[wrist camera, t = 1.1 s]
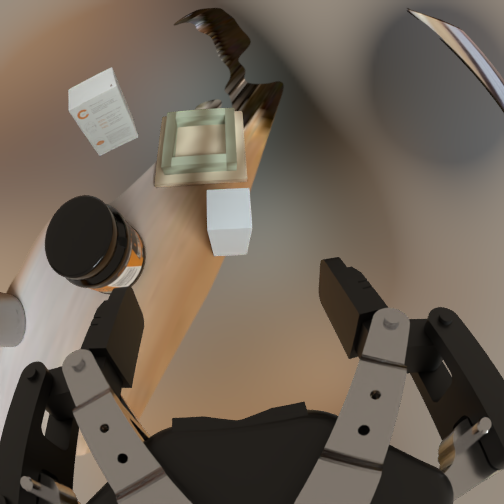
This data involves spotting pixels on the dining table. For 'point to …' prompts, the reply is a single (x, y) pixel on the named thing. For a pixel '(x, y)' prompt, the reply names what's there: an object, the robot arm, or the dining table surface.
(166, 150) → the cradle jig
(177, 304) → the dining table surface
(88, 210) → the supplement container
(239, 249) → the block
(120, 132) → the small box
